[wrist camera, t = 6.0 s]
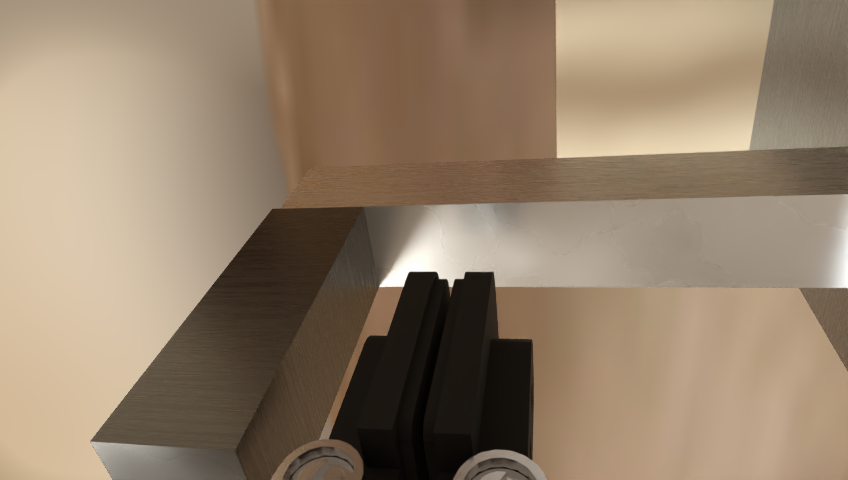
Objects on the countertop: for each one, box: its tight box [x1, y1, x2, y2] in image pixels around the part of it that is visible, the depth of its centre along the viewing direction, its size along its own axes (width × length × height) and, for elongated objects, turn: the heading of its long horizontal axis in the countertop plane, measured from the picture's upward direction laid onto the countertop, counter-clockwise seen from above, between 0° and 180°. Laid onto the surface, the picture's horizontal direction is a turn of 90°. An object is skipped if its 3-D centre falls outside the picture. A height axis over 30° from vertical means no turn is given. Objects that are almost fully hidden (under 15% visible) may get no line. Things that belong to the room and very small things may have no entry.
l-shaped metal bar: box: [90, 146, 848, 480], centre depth 12 cm, size 2×20×10 cm, turn 97°
